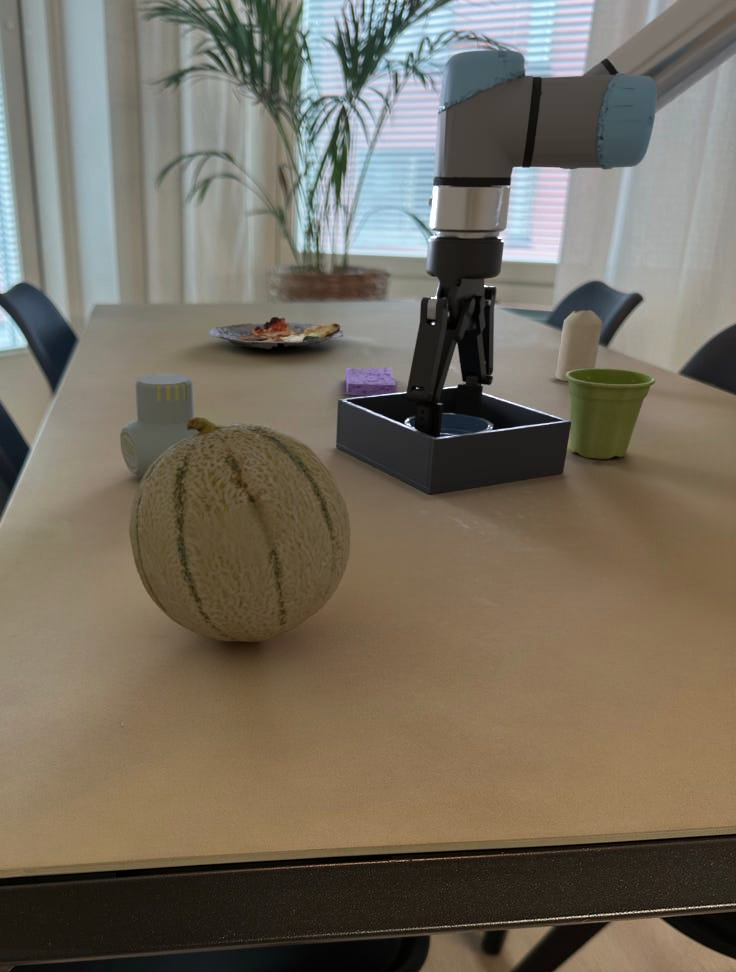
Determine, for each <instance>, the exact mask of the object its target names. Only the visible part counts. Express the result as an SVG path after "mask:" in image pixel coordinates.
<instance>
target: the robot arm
mask: <svg viewBox="0 0 736 972" xmlns="http://www.w3.org/2000/svg"><path fill="white" fill-rule="evenodd" d="M735 55H736V0H676V1H675V2H674V3H672V4H671V5H669V6H668V7H667V8H666V9H664V11H662V12H660V13H659V14H658V15H657V16H656V17H654V18H653V19H652V20H650V21H649V22H648V23H647V24H645V26H643V27H642V28H641V29H639V30H638V31H637V32H636V33H634V34H633V35H632V36H630V37H629V38H628V39H627V40H625V41H624V42H623V43H622V44H620V45H619V46H617V48H615V49H614V50H612V52H610V53H608V54H607V56H606V57H604V59H602V60H601V61H600V62H598V63H597V64H596V65H594V66H593V67H591V68H590V69H589V70H588V71H587V72H585V73H584V74H582V75H575V76H574V75H573V76H550V77H547V76H546V77H541V76H534V75H526V74H527V73H526V72H527V70H526V68H525V64H526V63H525V61H526V60H525V56H524V55H523V54H522V53H521V52H519V51H515V50H496V49H495V50H493V49H487V50H483V49H482V50H471V51H464V52H463V51H462V52H458V53H455V54H454V55H452V56H451V57H449V59H447V61H446V62H445V64H444V67H443V70H442V77H441V86H440V94H439V103H438V108H437V120H436V121H437V122H436V136H435V150H434V151H435V152H434V165H433V181H432V193H431V194H432V195H431V197H429V199H428V206H429V207H430V208H431V209H430V217H429V228H430V230H431V231H434V232H435V233H434V235H432V236H430V238H429V239H428V240H427V251H426V263H425V272H426V274H427V275H428V276H430V277H433V278H437V279H438V286H437V289H436V293H435V297H429V296H428V297H427V296H423V297H422V298H421V300H420V309H419V310H420V311H419V325H418V330H417V333H416V339H415V346H414V350H413V354H412V355H413V356H412V359H411V367H410V372H409V377H408V381H407V387H406V391H405V392H406V397H407V400H408V401H411V402H416V414H415V427H414V429H416V430H418V431H421V432H423V433H426V434H428V435H430V436H433V437H435V438H438V437H440V433H441V423H442V412H443V403H439V400H440V397H441V393H442V390H443V388H445V383H446V380H447V378H448V373H449V370H450V367H451V364H452V360H453V357H454V353H455V349H456V346H457V351H458V359H459V367H460V373H461V381H462V382H460V383H458V384H457V386H458V388H457V398H456V408H455V414H465V415H470V416H475V417H480V408H481V399H482V393H483V392H484V391H483V389H484V386H491V385H492V383H493V379H494V376H493V373H494V342H495V341H494V337H495V335H494V334H495V305H496V297H497V291H498V290H497V287H496V286H493V285H492V286H491V285H485V280H488V279H494V278H496V277H498V276H499V275H500V274H501V272H502V265H503V264H502V262H503V254H504V247H505V240H503V237H501V236H500V233H501V232H503V231H505V230H506V229H507V225H508V215H509V208H510V207H509V205H510V196H511V189H512V188H511V186H512V185H511V184H512V174H513V169H514V168H522V169H524V168H525V169H527V168H528V169H529V168H553V169H554V168H555V169H556V168H558V169H562V170H563V169H564V170H576V169H601V170H605V171H607V170H612V169H615V168H633V167H635V166H638V165H639V164H640V163H641V162H643V160H644V158H645V157H646V154H647V151H648V149H649V145H650V141H651V138H652V137H651V136H652V133H653V129H654V123H655V118H656V113H658V112H659V111H660V110H662V109H663V108H665V107H666V106H668V105H669V104H670V103H671V102H672V101H674V100H676V99H677V98H678V97H679V96H681V95H682V94H684V93H685V92H686V91H687V90H689V89H690V88H692V87H693V86H694V85H696V84H698V82H700V81H702V80H703V79H704V78H705V77H706V76H709V74H711V73H712V72H713V71H715V70H716V69H718V68H719V67H720V66H722V65H723V64H724V63H726V62H727V61H728V60H729V59H731V58H733V57H734V56H735ZM483 385H484V386H483Z"/></svg>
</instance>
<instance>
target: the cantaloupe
mask: <svg viewBox="0 0 736 972" xmlns="http://www.w3.org/2000/svg"><path fill="white" fill-rule="evenodd" d="M194 417H195V416H194ZM187 430H197V431H198V433H196V434H194V435H192V436H190V437H187V438H185V439H183V440H181V441H179V442H178V443H176V444H174V445H173V446H171V447H169V448H168V449H167V450H166V451H164V452H163V453H162V454H161V455H160V456H159V457H158V458H157V459H156V460H155V461H154V462H153V463H152V465H151V466H150V467H149V468H148V470H147V472H146V474H145V475H144V476H143V478H141V480H140V481H139V484H138V486H137V488H136V491H135V494H134V497H133V501H132V504H131V508H130V515H129V524H128V525H129V526H128V532H129V540H130V546H131V551H132V556H133V561H134V565H135V567H136V571H137V573H138V576H139V579H140V581H141V583H142V586H143V588H144V589H145V592H146V593H147V594H148V596H149V598H150V599H151V600H152V602H154V604H155V605H156V606H157V607H158V608H159V609H160V611H162V612H163V613H164V615H166V617H168V618H169V619H170V620H171V621H173V622H174V623H176V624H177V625H178V626H180V627H182V628H184V629H186V630H189V631H190V632H192V633H194V634H197V635H199V636H202V637H206V638H209V639H212V640H216V641H222V642H248V643H249V642H250V643H257V642H262V641H267V640H271V639H274V638H276V637H278V636H281V635H282V634H285V633H287V632H290V631H291V630H293V629H295V628H297V627H298V626H300V625H301V624H303V623H304V622H305V621H306V620H308V619H309V618H311V617H312V616H314V615H315V614H317V613H318V612H319V611H320V610H321V609H322V608H323V607H324V606H325V605H326V604H327V602H328V601H329V600H330V599H331V598H333V595H334V594H335V592H336V591H337V589H338V588H339V586H340V583H341V581H342V579H343V576H344V575H345V572H346V570H347V566H348V563H349V559H350V552H351V527H350V525H351V524H350V523H351V522H350V517H349V516H350V515H349V512H348V508H347V503H346V500H345V498H344V495H343V494H342V491H341V490H340V488H339V486H338V484H337V481H336V480H335V478H334V476H333V474H332V473H331V471H330V469H329V468H328V466H327V465H326V464H325V463H324V461H322V460H321V458H320V457H319V455H318V454H317V453H316V452H315V451H314V450H313V449H312V448H311V447H309V445H308V444H306V443H304V442H303V441H302V440H300V439H299V438H297V437H295V436H293V435H292V434H290V433H288V432H285V431H283V430H280V429H278V428H277V427H276V428H275V427H272V426H269V425H264V424H258V423H251V422H250V423H244V422H238V423H237V422H235V423H231V424H228V425H220V424H215V423H214V422H211V421H210V420H208V419H207V418H205V417H197V416H196V417H195V418H191V419H190V420H189V421H188V423H187Z"/></svg>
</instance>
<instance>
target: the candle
mask: <svg viewBox="0 0 736 972" xmlns="http://www.w3.org/2000/svg"><path fill="white" fill-rule="evenodd" d="M602 327H603V321H602V320H601V318H600V317H599V316H598V315H597V314H596V313H595V312H594V311H593V310H589V309H588V310H583V309H582V310H579V311H576V310H572V312H571V313H570V314H569V315H568V316H567V317H566V318H565V319H564V320H563V325H562V330H561V331H562V332H561V338H560V339H561V340H560V344H559V352H558V357H557V358H558V359H557V364H556V371H555V378H556V379H557V380H559V381H564V382H569V380H567V379H566V373H567V372H570V371H573V370H579V369H591V368H596V363H597V356H598V350H599V345H600V340H601V339H600V338H601V333H602Z"/></svg>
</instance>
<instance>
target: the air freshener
mask: <svg viewBox="0 0 736 972" xmlns="http://www.w3.org/2000/svg"><path fill="white" fill-rule="evenodd" d="M134 383H135V400H136V401H135V402H136V403H135V404H136V419H133V420H132V421H130V422H129V423H127V424H126V425H125V426H124V427H122V429H121V431H120V434H119V435H120V436H119V440H120V441H119V443H120V449H121V455H122V457H123V460H124V463H125V465H126V467H127V468H128V471H130V472H131V473H132V474H134V475H136V476H138V477H140V478H141V479H142V478H143V476H144V475H145V474H146V472H147V470H148V468H149V467H150V466H151V465H152V463H153V462H154V461H155V460H156V459H157V458H158V457H159V456H160V455H161V454H162V453H163V452H164V451H166V450H167V449H168V448H169V447H171V446H173V445H174V444H176V443H178V442H179V441H181V440H183V439H185V438H187V437H190V436H192V435H194V434H196V433H198V431H197V430H187V423H188V421H189V420H190V419H191V418H195V403H194V380H193V379H191V378H190V377H189V375H184V374H180V373H179V374H177V373H154V374H147V375H143V376H140V377H139V378H138V379H136V381H135V382H134Z"/></svg>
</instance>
